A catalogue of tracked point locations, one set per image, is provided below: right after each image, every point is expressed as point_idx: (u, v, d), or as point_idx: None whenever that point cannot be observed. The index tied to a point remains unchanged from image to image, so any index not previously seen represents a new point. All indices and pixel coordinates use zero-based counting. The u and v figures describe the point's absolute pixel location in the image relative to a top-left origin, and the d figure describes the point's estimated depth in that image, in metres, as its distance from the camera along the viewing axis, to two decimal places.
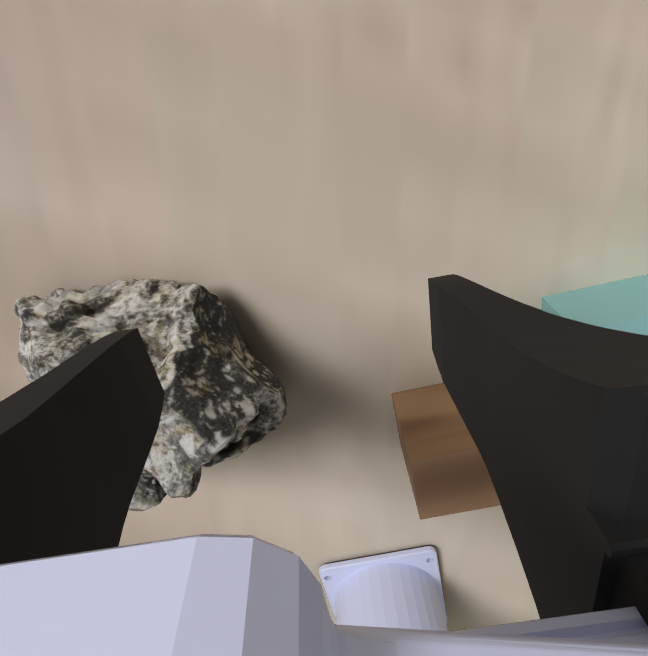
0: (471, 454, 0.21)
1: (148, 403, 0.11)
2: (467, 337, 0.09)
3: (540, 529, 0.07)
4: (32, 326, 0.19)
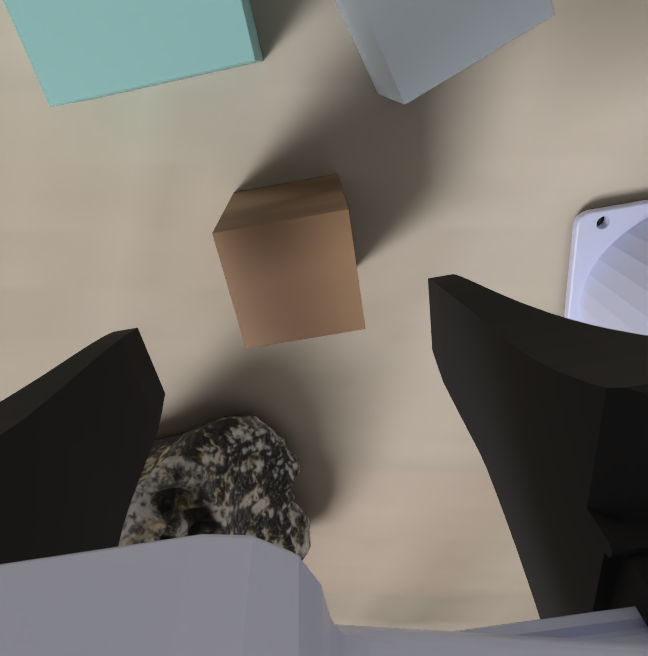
0: (233, 271, 0.14)
1: (148, 403, 0.11)
2: (467, 337, 0.09)
3: (540, 529, 0.07)
4: None
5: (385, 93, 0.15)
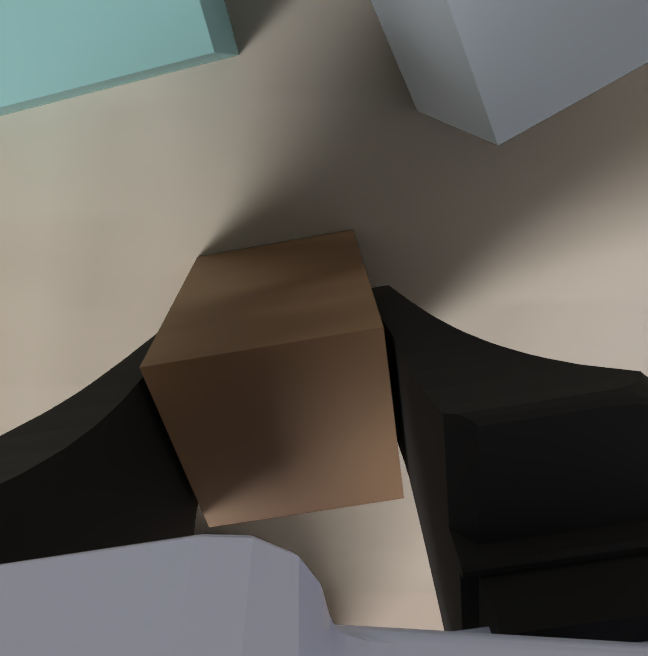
0: (181, 424, 0.08)
1: None
2: (386, 350, 0.09)
3: (435, 544, 0.07)
4: None
5: (439, 114, 0.09)
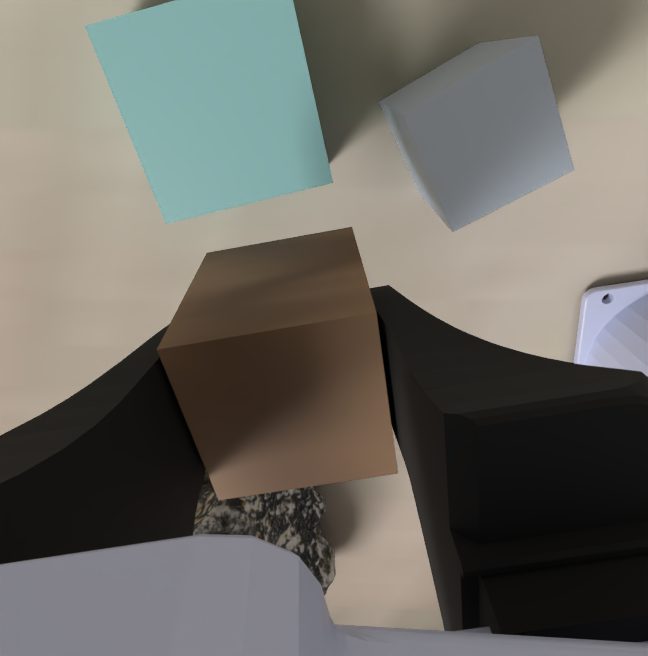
0: (193, 402, 0.09)
1: None
2: (387, 350, 0.09)
3: (435, 544, 0.07)
4: None
5: (430, 205, 0.18)
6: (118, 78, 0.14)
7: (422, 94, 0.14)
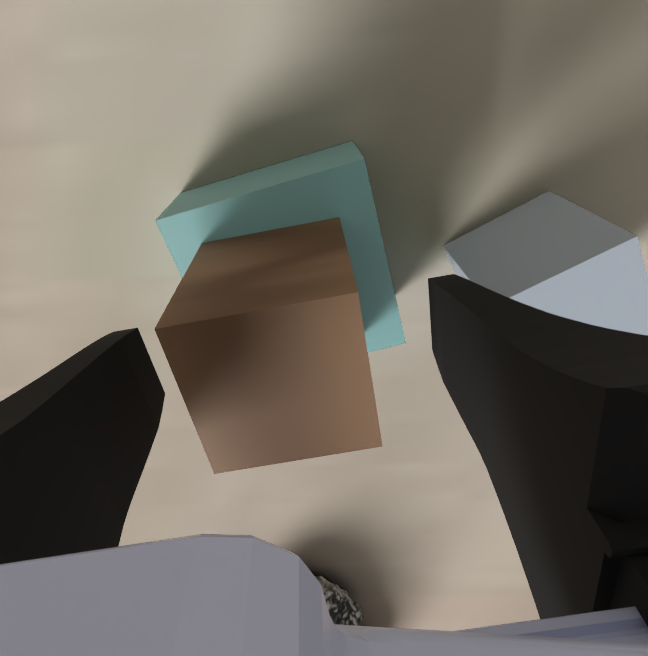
0: (189, 379, 0.10)
1: (148, 403, 0.11)
2: (467, 337, 0.09)
3: (540, 529, 0.07)
4: None
5: None
6: (188, 264, 0.14)
7: (505, 274, 0.14)
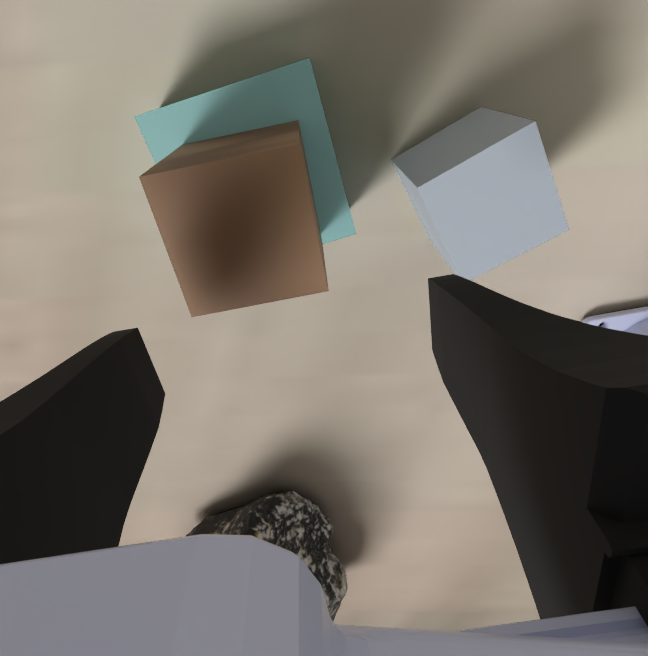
0: (168, 224, 0.12)
1: (148, 403, 0.11)
2: (467, 337, 0.09)
3: (540, 529, 0.07)
4: None
5: (440, 253, 0.20)
6: (163, 158, 0.16)
7: (433, 165, 0.16)
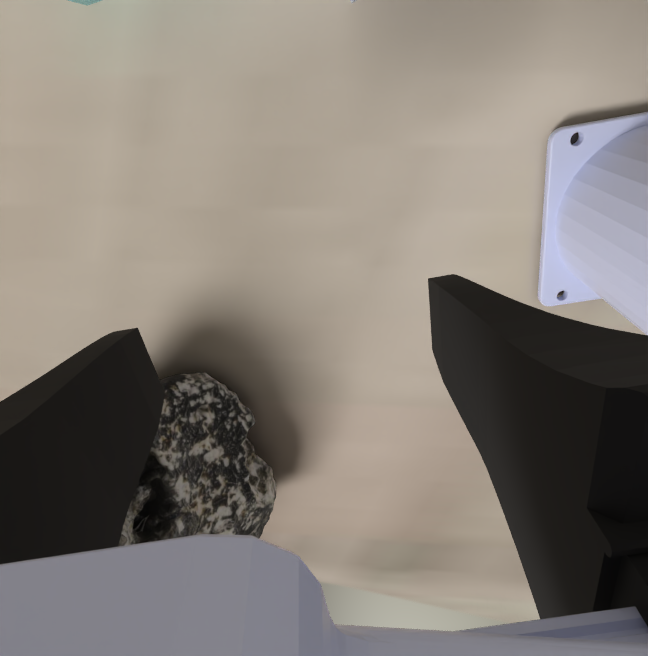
0: None
1: (148, 403, 0.11)
2: (467, 337, 0.09)
3: (540, 529, 0.07)
4: None
5: None
6: None
7: None
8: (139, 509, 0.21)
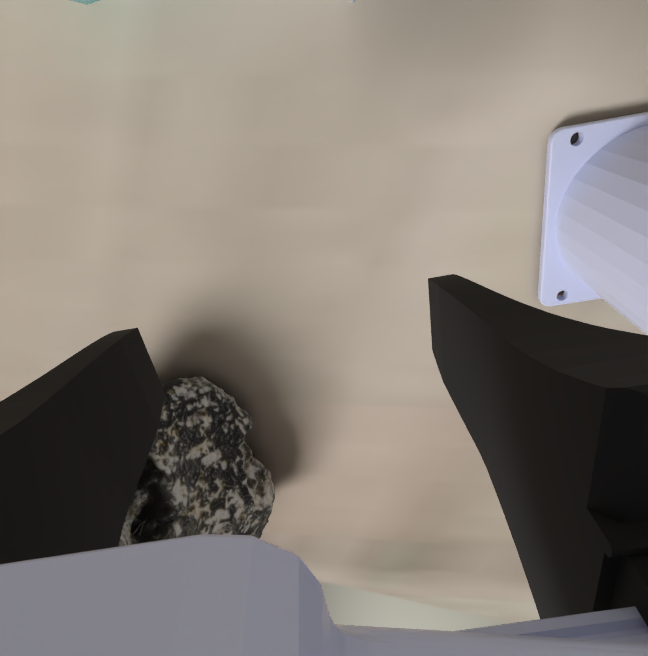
0: None
1: (148, 403, 0.11)
2: (467, 337, 0.09)
3: (540, 529, 0.07)
4: None
5: None
6: None
7: None
8: (137, 513, 0.21)
